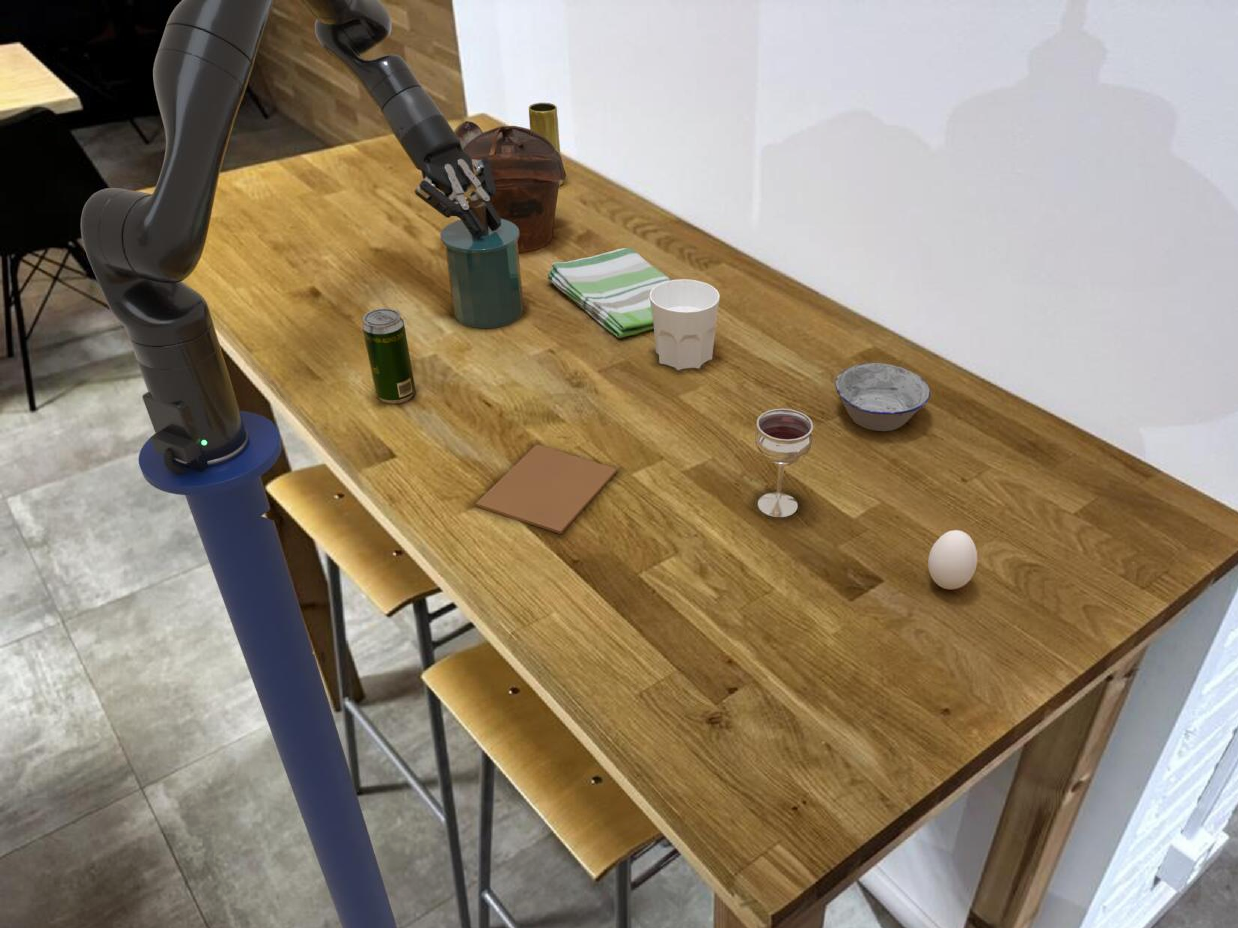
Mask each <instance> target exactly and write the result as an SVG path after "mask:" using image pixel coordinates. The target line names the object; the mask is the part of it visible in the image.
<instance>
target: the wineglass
mask: <svg viewBox="0 0 1238 928" xmlns="http://www.w3.org/2000/svg"><path fill="white" fill-rule="evenodd" d="M756 426H757V429H756V432H755V437H754V442H755V446H756V449H757V451H758V453H759V455H761V457H763V458H764V459H765V460H766V461H768V462H769V463H771V464H772V465H776V466H777V479H776V480H777V482H776V483H777V484H776V492H768V493H766V494H764V495H762V496H761V497H759V499H758V501H757V507H758V509H759V510H760V511H761V512H762V513H763V514H765V515H767V516H770V517H773V518H786V517H790V516H791V515H793V514H794V513H795V512H796V511H797V510H798V505H799V504H798V502H797V500H796V499H795V498H794V497H793V496H791V495H789V494H787V493H783V492H782V487H783V479H784V478H783V477H784V472H785V471H784V470H785V466H791V465H794V464H796V463H798V462H800V461H801V460H803V459H804V458H806V456H807V455H808V453H809V452H810V449H811V447H812V444H813V434H812V431H813V430H814V423H813V422H812V419H811V418H810V417H809V416H808V415H806V414H805V413H802V412H801V411H799V410H794V409H791V408H773V409H770V410H767V411H764V412H763V413H762V414H760V415H759V416H758V418H757V419H756Z"/></svg>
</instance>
